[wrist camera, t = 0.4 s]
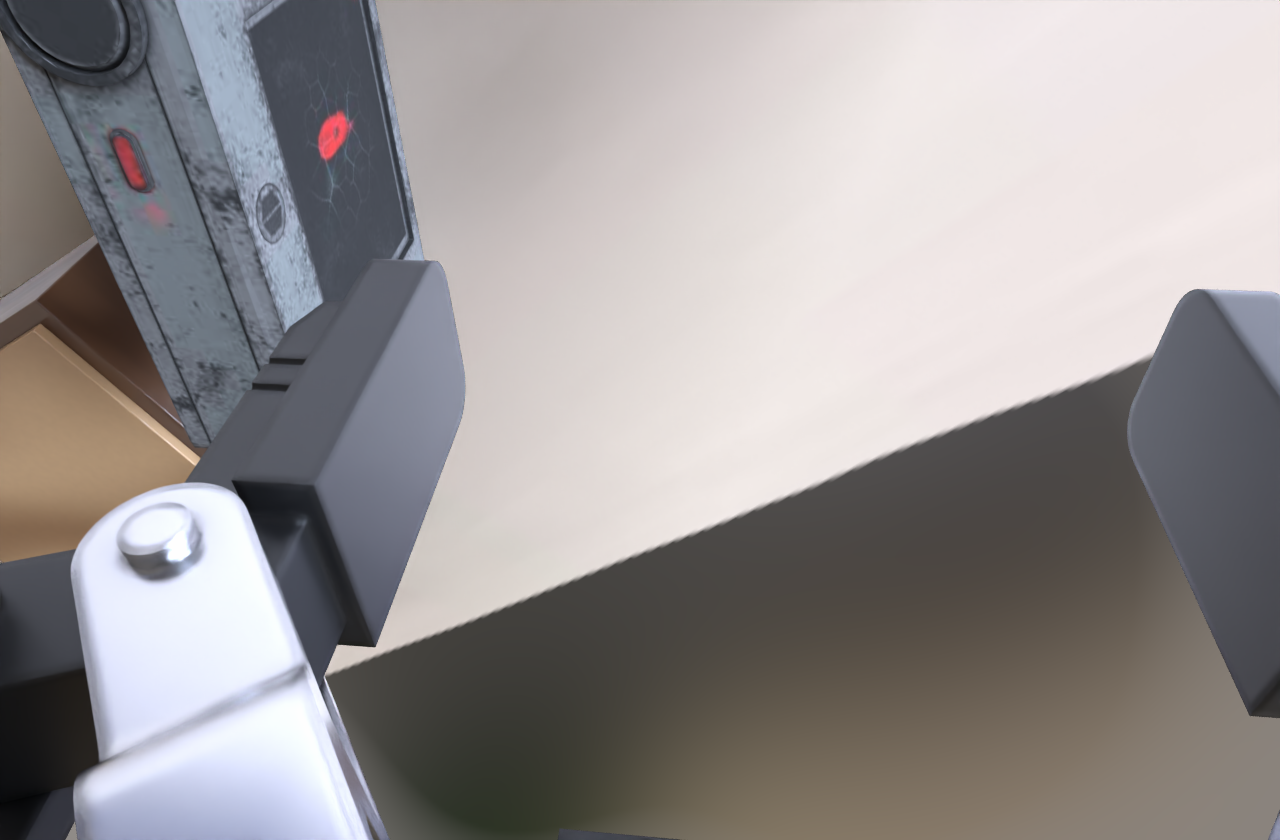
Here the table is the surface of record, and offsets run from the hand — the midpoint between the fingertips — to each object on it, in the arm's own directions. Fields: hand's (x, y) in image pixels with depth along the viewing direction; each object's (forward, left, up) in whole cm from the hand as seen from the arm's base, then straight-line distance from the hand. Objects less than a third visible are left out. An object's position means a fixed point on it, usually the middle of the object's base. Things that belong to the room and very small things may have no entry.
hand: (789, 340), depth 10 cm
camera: (+2, -13, -18) cm, 22 cm away
